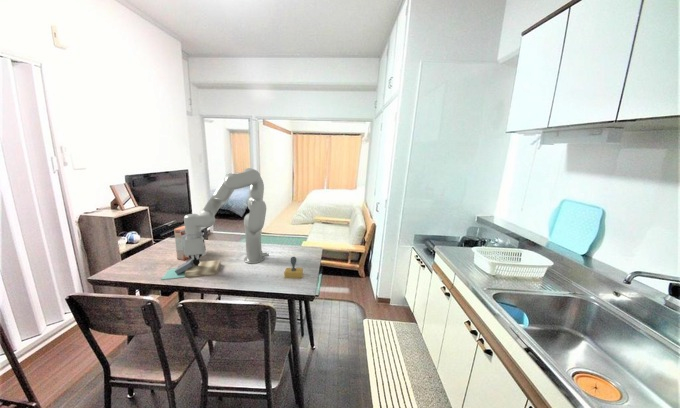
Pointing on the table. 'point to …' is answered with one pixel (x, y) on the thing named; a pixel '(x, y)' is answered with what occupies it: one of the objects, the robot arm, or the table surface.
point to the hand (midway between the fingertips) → (196, 264)
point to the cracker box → (180, 242)
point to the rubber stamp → (293, 270)
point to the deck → (203, 269)
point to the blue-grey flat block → (184, 266)
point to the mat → (173, 274)
